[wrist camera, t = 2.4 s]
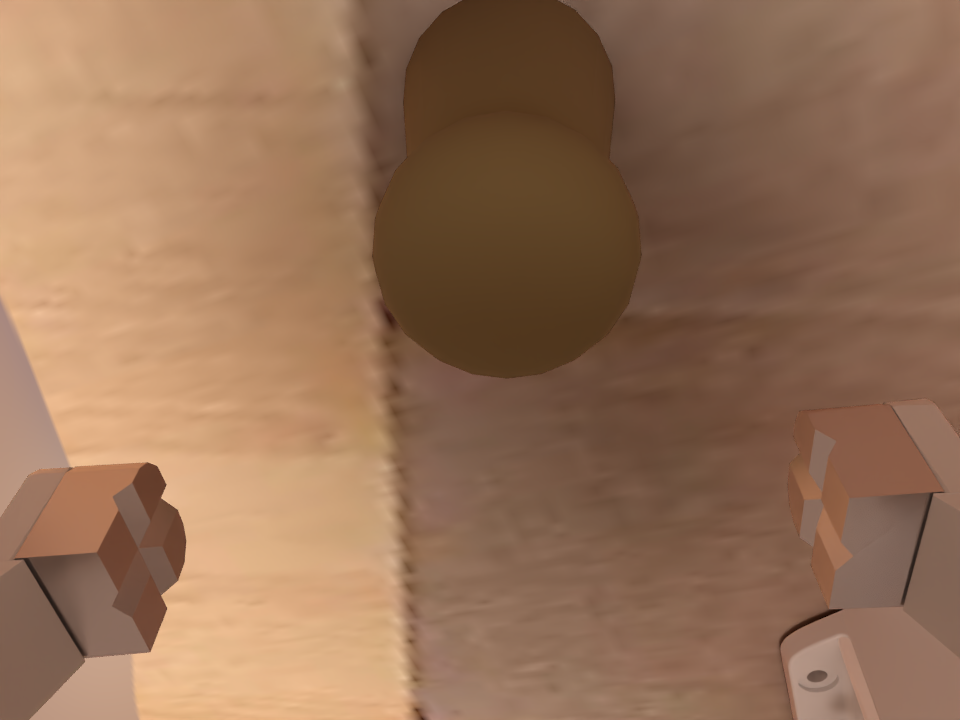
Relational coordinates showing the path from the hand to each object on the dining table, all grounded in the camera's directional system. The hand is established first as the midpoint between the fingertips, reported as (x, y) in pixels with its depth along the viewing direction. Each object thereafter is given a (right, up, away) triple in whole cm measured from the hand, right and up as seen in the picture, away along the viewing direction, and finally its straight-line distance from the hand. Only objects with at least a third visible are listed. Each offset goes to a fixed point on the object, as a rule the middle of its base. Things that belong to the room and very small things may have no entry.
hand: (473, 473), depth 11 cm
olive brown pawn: (+1, +9, +14) cm, 16 cm away
